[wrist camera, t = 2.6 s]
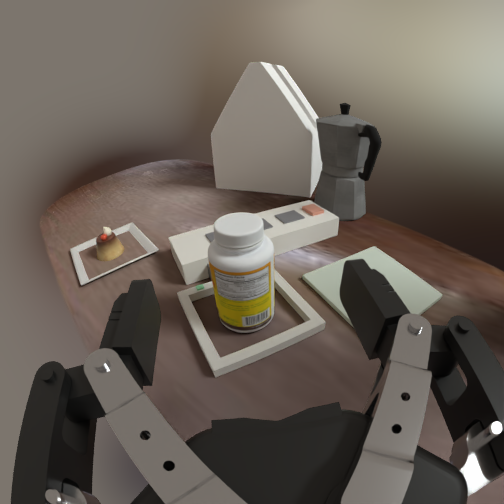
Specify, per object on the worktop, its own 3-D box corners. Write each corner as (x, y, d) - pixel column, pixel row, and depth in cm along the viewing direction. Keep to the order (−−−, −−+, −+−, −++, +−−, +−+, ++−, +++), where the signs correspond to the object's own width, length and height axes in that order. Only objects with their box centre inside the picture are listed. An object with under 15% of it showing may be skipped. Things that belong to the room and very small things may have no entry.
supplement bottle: (236, 290, 32) (227, 203, 26) (283, 305, 29) (284, 213, 24) (207, 324, 28) (189, 232, 22) (258, 343, 25) (253, 247, 20)
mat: (373, 249, 37) (374, 246, 37) (441, 298, 28) (442, 294, 28) (302, 278, 33) (302, 274, 32) (374, 347, 24) (375, 344, 23)
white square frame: (268, 269, 35) (267, 260, 34) (324, 329, 26) (326, 320, 26) (178, 299, 31) (176, 291, 30) (215, 377, 22) (213, 369, 22)
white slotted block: (216, 188, 58) (205, 67, 45) (244, 167, 70) (238, 68, 57) (310, 197, 52) (310, 61, 39) (321, 173, 64) (322, 66, 50)
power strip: (308, 216, 46) (309, 197, 44) (351, 244, 38) (354, 223, 36) (172, 255, 38) (167, 234, 36) (194, 300, 30) (188, 276, 29)
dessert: (83, 292, 33) (70, 261, 30) (71, 254, 41) (62, 229, 38) (160, 256, 39) (153, 226, 36) (133, 227, 47) (127, 202, 44)
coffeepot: (299, 197, 52) (299, 99, 42) (343, 192, 54) (347, 100, 44) (341, 239, 40) (351, 108, 30) (391, 229, 41) (406, 113, 31)
